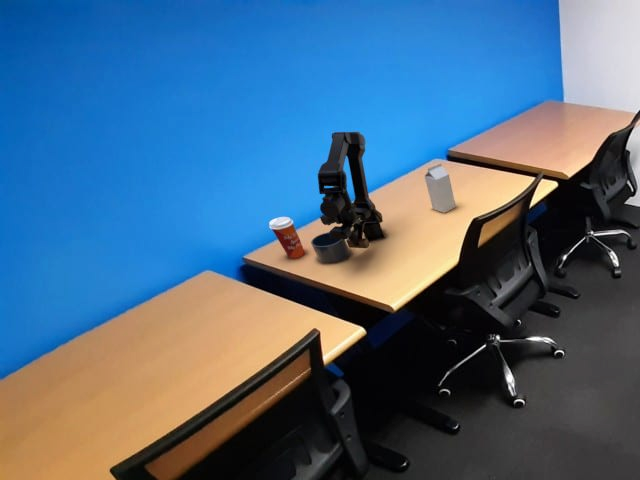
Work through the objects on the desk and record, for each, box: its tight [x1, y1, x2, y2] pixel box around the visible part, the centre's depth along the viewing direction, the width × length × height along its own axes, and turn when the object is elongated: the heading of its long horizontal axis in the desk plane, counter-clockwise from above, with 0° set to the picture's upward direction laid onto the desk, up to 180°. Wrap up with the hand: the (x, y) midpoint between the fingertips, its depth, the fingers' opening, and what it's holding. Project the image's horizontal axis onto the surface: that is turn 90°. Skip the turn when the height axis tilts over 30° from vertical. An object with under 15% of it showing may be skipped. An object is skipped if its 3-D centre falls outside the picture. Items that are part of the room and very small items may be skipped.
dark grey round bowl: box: [310, 231, 351, 264], centre depth 173 cm, size 11×11×7 cm
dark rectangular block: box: [345, 237, 371, 249], centre depth 171 cm, size 7×2×3 cm, turn 85°
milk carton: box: [424, 162, 457, 214], centre depth 199 cm, size 7×7×19 cm
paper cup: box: [268, 216, 306, 259], centre depth 172 cm, size 8×8×14 cm
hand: (358, 244), depth 171 cm, fingers closed on dark rectangular block, 2 cm apart
